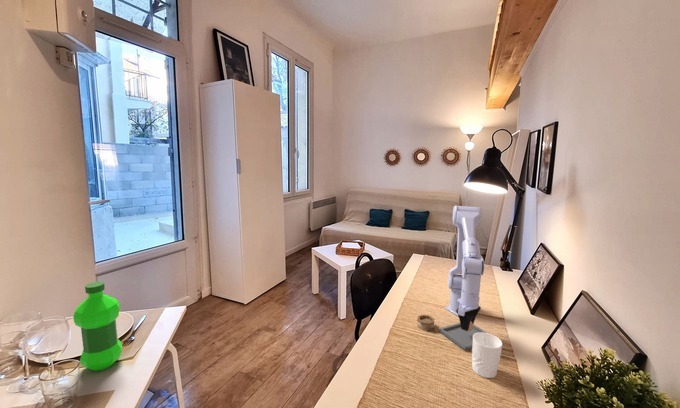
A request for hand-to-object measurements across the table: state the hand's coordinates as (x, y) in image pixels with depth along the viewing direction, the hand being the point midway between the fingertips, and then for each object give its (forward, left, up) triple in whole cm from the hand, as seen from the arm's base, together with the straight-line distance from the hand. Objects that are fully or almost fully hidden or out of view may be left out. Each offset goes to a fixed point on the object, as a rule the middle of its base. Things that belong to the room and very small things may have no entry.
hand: (467, 327), depth 107 cm
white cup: (+9, +15, -4) cm, 18 cm away
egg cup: (+9, -11, -4) cm, 15 cm away
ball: (0, 0, -1) cm, 1 cm away
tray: (0, 0, -4) cm, 4 cm away
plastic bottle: (+112, -32, -4) cm, 117 cm away
